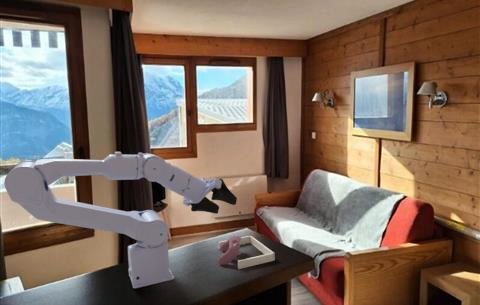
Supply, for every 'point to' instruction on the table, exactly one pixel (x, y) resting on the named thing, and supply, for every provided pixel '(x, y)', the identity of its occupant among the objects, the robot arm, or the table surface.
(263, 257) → the dock
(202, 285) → the table surface
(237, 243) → the video game controller
